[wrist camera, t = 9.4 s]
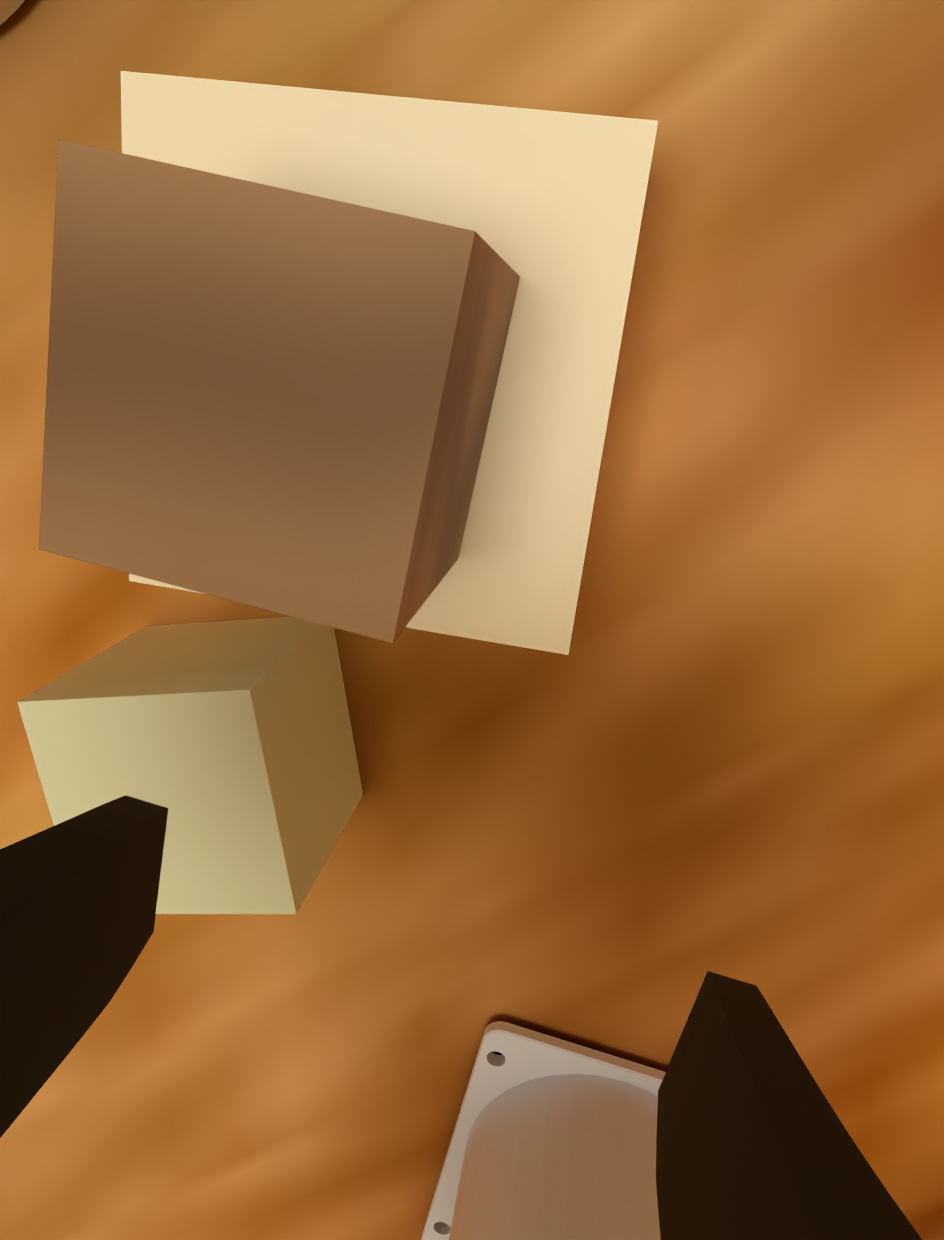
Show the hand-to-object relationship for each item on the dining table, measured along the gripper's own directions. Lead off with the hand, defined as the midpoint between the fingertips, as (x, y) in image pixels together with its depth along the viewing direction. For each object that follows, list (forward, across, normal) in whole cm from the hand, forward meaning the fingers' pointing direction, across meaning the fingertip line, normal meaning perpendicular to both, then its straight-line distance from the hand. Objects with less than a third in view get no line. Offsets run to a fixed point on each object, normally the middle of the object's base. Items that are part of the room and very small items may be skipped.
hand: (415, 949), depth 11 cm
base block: (+10, +4, -6) cm, 13 cm away
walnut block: (+6, +4, -6) cm, 9 cm away
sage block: (+10, +6, +3) cm, 12 cm away
